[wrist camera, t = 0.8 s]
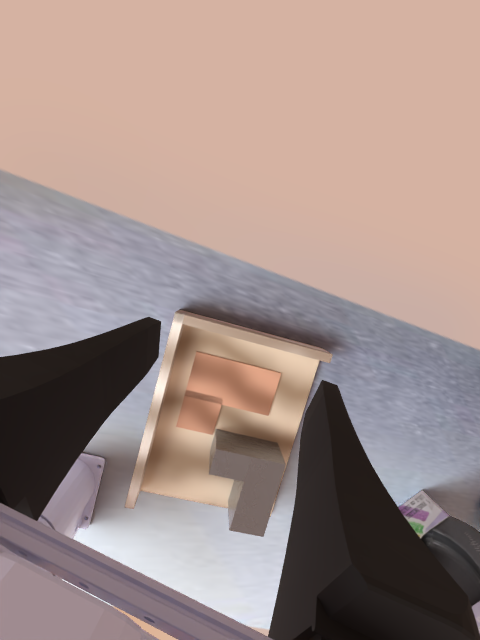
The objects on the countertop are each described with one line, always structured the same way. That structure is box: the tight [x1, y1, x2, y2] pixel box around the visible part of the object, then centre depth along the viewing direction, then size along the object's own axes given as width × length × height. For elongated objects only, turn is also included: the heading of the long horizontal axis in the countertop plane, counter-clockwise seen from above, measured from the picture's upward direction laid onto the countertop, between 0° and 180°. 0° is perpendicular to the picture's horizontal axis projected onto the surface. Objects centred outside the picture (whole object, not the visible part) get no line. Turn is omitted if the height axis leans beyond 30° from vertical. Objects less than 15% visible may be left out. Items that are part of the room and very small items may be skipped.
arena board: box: [125, 310, 332, 517], centre depth 35 cm, size 23×18×4 cm
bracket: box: [209, 429, 286, 537], centre depth 34 cm, size 9×8×4 cm
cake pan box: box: [399, 490, 480, 633], centre depth 31 cm, size 19×5×18 cm, turn 126°
